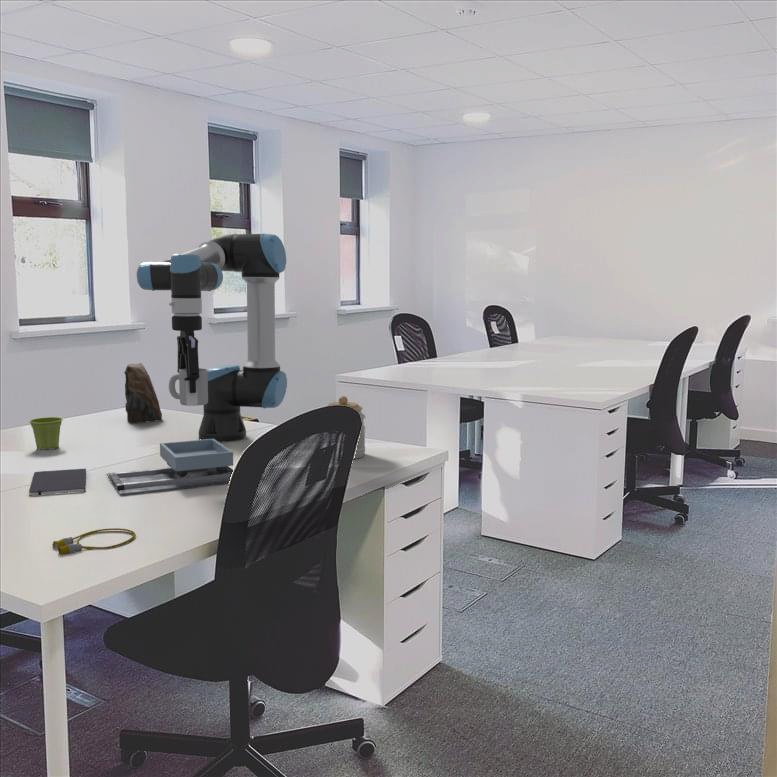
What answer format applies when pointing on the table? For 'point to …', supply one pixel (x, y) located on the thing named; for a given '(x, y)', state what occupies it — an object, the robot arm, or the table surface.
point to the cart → (196, 455)
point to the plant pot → (46, 432)
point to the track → (166, 480)
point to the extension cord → (68, 548)
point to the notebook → (58, 481)
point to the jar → (361, 442)
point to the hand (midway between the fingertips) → (188, 403)
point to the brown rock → (140, 395)
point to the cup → (201, 386)
